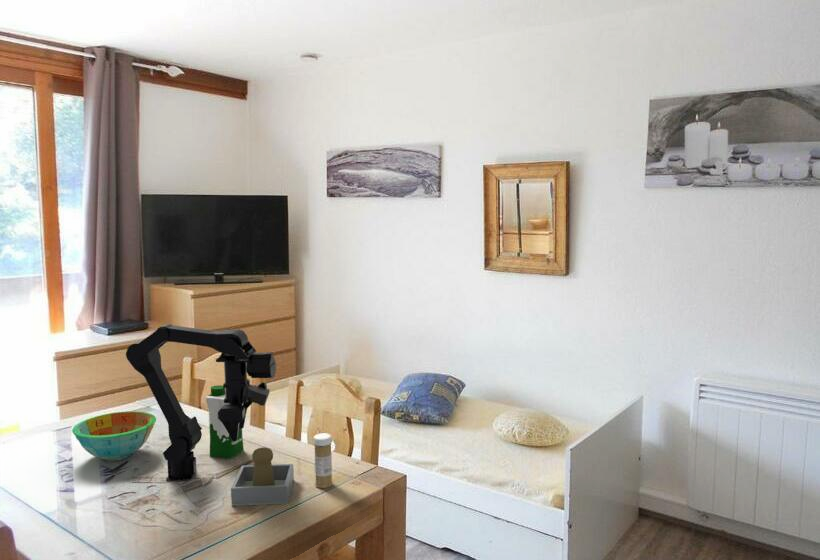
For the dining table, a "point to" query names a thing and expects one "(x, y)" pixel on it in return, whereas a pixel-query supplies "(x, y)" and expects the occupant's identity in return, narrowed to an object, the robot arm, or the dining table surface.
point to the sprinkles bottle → (323, 460)
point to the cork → (263, 467)
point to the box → (262, 487)
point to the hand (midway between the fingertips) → (238, 434)
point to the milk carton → (221, 427)
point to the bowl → (114, 434)
